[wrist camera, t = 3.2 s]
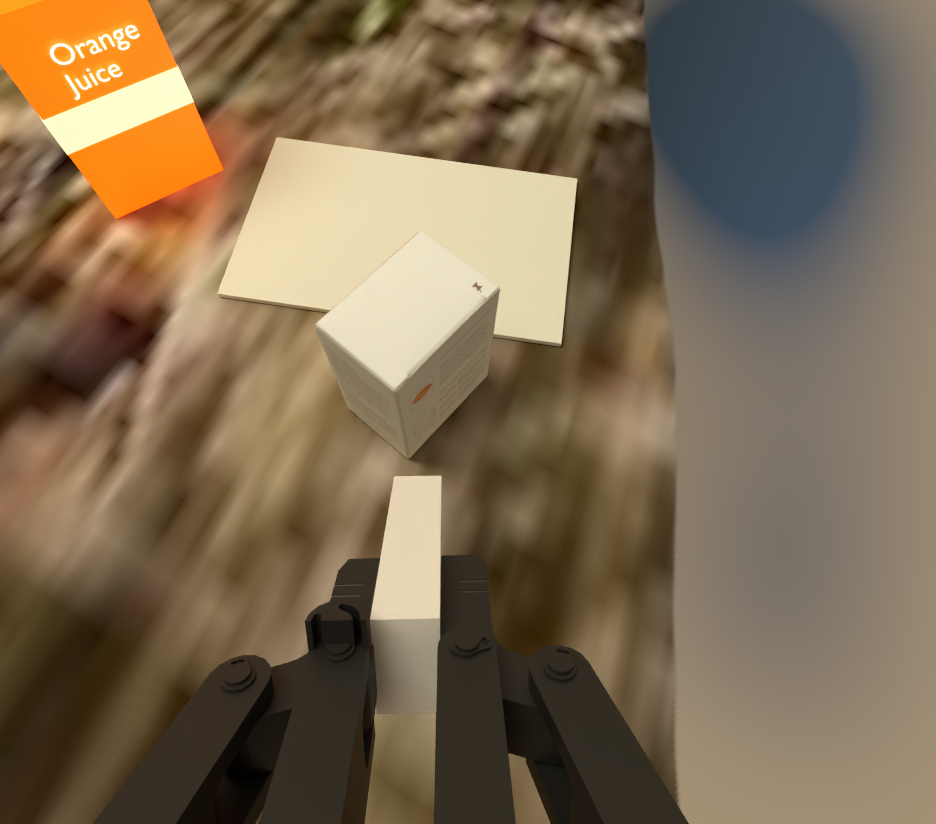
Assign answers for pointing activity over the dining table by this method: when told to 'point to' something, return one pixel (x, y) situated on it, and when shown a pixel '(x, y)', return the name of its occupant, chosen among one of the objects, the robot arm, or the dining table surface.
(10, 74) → the orange juice
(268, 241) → the mat
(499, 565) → the dining table surface
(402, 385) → the small box
